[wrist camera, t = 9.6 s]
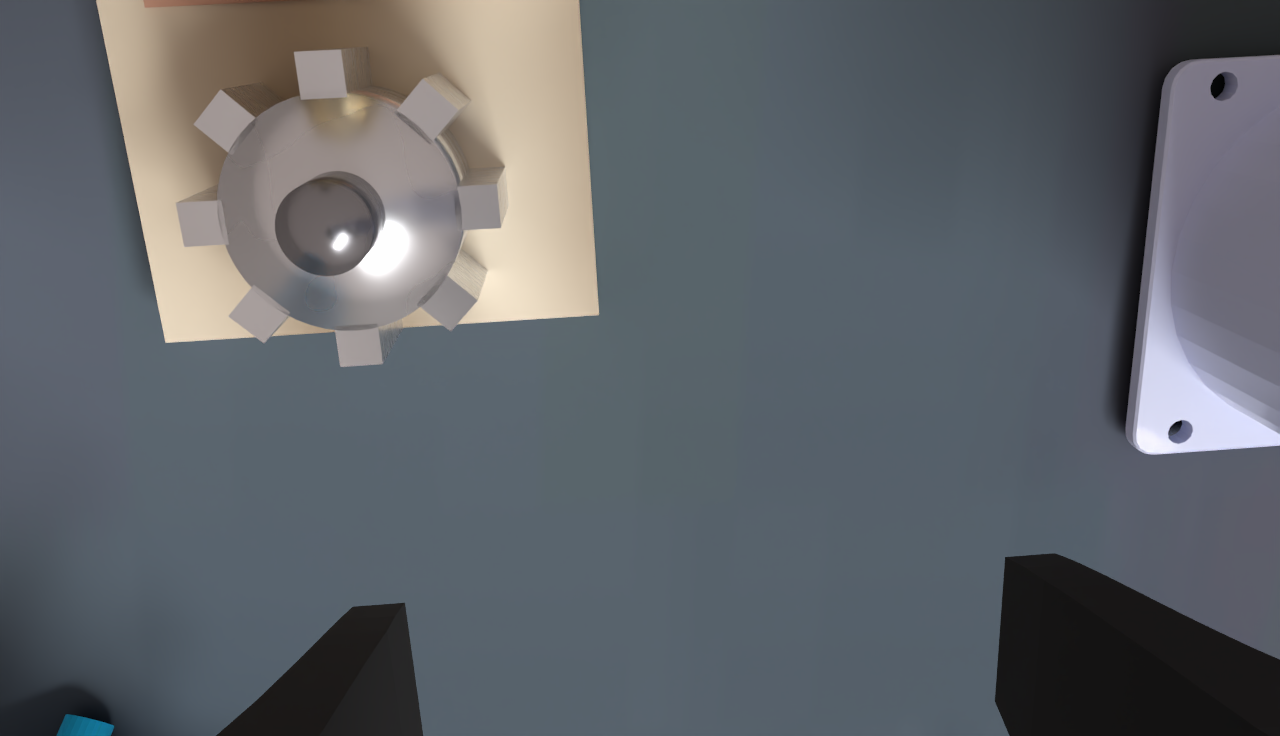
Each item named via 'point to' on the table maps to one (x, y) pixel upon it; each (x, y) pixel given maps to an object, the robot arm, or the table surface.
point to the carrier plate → (399, 59)
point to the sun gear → (345, 203)
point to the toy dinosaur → (84, 727)
